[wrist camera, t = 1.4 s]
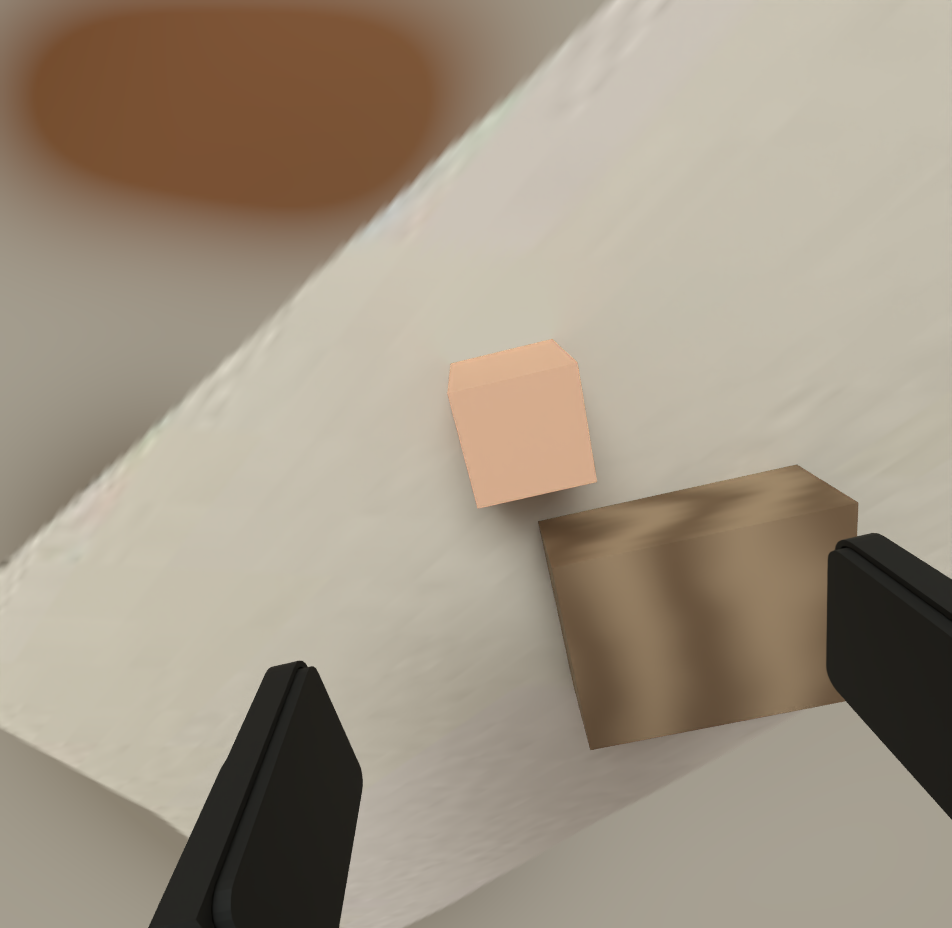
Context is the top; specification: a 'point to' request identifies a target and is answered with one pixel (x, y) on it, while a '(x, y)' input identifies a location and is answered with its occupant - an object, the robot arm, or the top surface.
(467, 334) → the top surface
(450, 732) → the top surface
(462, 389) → the peach block
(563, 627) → the walnut plinth
